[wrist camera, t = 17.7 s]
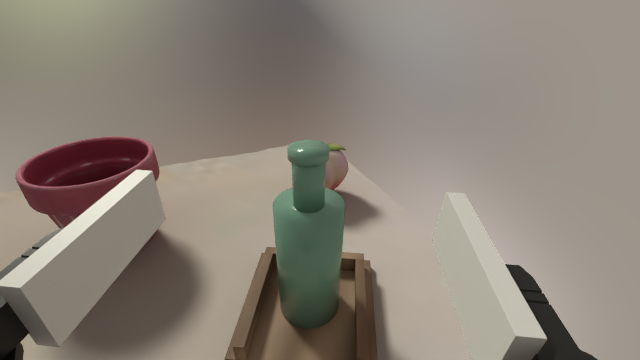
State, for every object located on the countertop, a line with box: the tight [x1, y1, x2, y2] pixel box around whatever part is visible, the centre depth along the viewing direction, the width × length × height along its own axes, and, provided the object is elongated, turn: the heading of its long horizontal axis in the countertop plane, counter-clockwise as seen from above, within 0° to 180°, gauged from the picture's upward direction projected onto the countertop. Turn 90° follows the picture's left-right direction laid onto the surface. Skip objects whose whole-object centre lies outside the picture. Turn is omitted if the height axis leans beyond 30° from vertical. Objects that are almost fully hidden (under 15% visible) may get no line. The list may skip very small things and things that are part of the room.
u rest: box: [225, 247, 377, 360], centre depth 34 cm, size 14×14×3 cm
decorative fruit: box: [325, 143, 348, 190], centre depth 53 cm, size 9×8×10 cm
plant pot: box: [16, 137, 159, 245], centre depth 41 cm, size 14×14×13 cm
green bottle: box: [273, 140, 345, 329], centre depth 30 cm, size 6×6×18 cm
